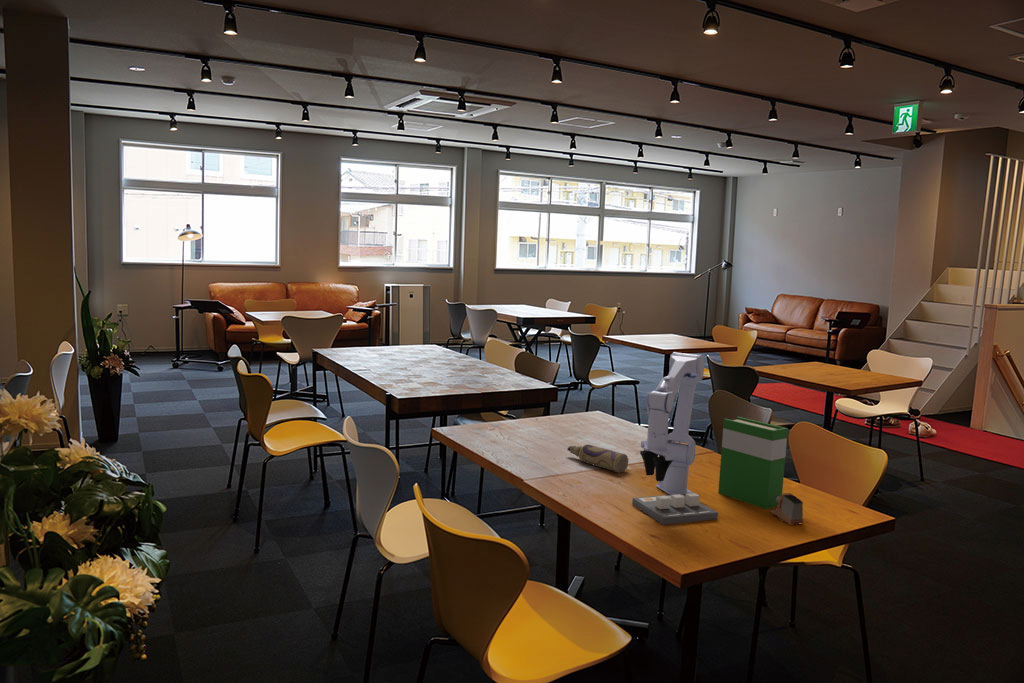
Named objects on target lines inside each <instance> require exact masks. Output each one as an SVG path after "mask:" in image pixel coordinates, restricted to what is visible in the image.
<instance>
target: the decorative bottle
mask: <svg viewBox="0 0 1024 683" xmlns="http://www.w3.org/2000/svg"><path fill="white" fill-rule="evenodd" d="M567 451H569V452H570V454H573V455H575V456H576V457H578V458H579V460H580V461H581V462H582V461H584V462H583V463H585V462H588V463H587V464H589V463H591V464H594V465H593V466H595V465H597V466H596V467H599V466H600V467H599V468H601V467H603V468H602V469H605V468H606V469H605V470H609V471H611V470H612V472H616V473H617V472H618V474H621V473H620V472H622V473H624V472H625V471H626V470H627V468H628V467H629V456H628V455H627V454H626V453H620V452H618V451H614V450H612V449H611V450H610V449H608V448H604V447H599V446H596V445H592V444H584V445H580V446H579V445H578V446H577V445H570V446H568V447H567ZM591 464H590V465H591ZM623 471H624V472H623Z"/></svg>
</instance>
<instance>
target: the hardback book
mask: <svg viewBox="0 0 1024 683" xmlns="http://www.w3.org/2000/svg"><path fill="white" fill-rule="evenodd" d="M722 426H723V428H722V441H721V453H720V455H721V456H720V465H719V466H720V467H719V477H718V478H719V481H718V490H717V492H718V494H720V495H724V496H726V497H729V498H732V499H734V498H735V500H737V501H740V500H741V502H743V503H747V504H749V505H752V506H755V507H758V508H761V509H763V510H766V509H767V510H770V509H769V508H771V509H774V508H777V507H776V506H777V505H778V503H777V502H776V501H775V497H776V496H781V494H783V490H784V488H783V487H784V478H785V464H786V456H787V454H786V453H787V443H788V430H789V428H788V427H784V426H781V425H780V426H779V425H775V424H771V423H770V424H769V423H766V422H763V421H758V420H754V419H749V418H747V417H746V418H745V417H741V416H736V419H728V418H723V425H722ZM773 507H774V508H773Z"/></svg>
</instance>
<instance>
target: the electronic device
mask: <svg viewBox="0 0 1024 683" xmlns="http://www.w3.org/2000/svg"><path fill="white" fill-rule="evenodd" d="M775 501H776V502H777V503H778V505H777V507H776V508H775V509H769V512H770V513H771V515H772V516H774V515H775V517H777V518H778V520H780V519H781V520H780V521H782V520H783V521H782V522H784V521H785V522H784V523H786V522H787V523H788V525H789V524H799V523H803V524H804V518H803V517H804V515H803V514H804V513H803V512H804V508H803V504H804V503H803V500H801V499H799V497H797V496H795V495H794V494H792V493H790V492H785V493H782V494H781V496H776V497H775ZM787 523H786V524H787Z"/></svg>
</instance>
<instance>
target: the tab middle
mask: <svg viewBox="0 0 1024 683" xmlns="http://www.w3.org/2000/svg"><path fill="white" fill-rule="evenodd" d="M684 503H685V497H684V496H682V495H680V494H677V495H671V506H673V507H675V508H680V507H684Z"/></svg>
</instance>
